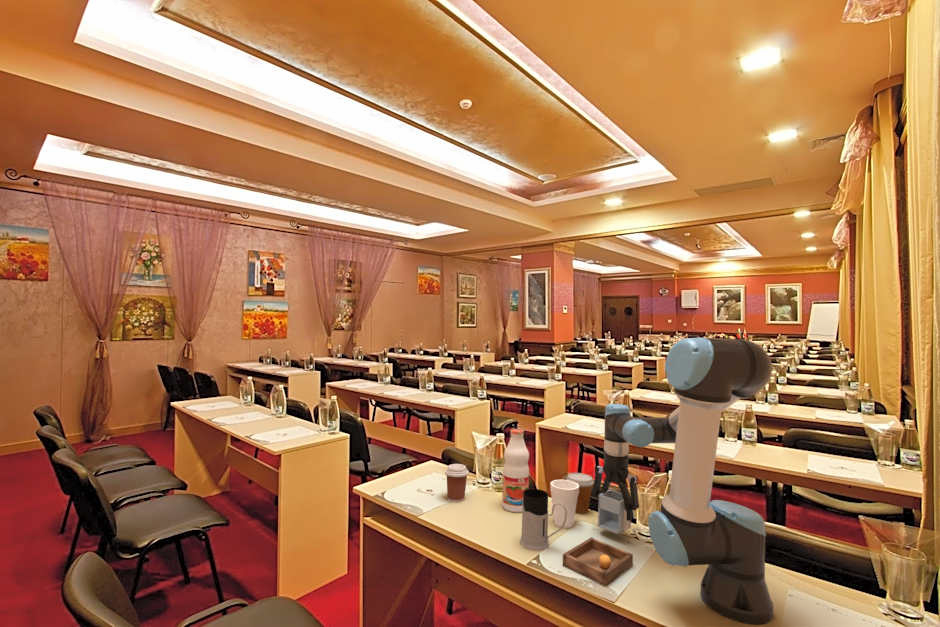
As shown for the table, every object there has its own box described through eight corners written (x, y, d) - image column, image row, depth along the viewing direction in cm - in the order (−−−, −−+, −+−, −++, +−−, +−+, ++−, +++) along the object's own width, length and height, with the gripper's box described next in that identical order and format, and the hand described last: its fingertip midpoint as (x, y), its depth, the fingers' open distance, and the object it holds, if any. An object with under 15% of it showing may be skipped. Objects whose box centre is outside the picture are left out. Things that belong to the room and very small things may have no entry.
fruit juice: (522, 501, 165) (524, 426, 166) (531, 512, 156) (534, 432, 157) (498, 503, 163) (501, 427, 164) (506, 513, 154) (509, 433, 154)
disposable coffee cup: (560, 506, 162) (561, 473, 162) (582, 503, 165) (583, 471, 165) (575, 517, 153) (576, 482, 153) (598, 514, 156) (599, 480, 156)
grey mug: (526, 533, 139) (528, 486, 140) (570, 546, 132) (571, 496, 132) (515, 545, 132) (516, 494, 132) (560, 559, 124) (562, 505, 125)
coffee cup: (443, 503, 161) (444, 470, 162) (444, 493, 170) (445, 462, 171) (468, 503, 161) (469, 470, 162) (467, 494, 170) (468, 463, 171)
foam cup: (576, 518, 152) (577, 480, 152) (580, 530, 142) (581, 490, 143) (548, 516, 153) (549, 478, 153) (550, 528, 143) (551, 488, 144)
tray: (632, 565, 122) (632, 554, 123) (605, 586, 112) (606, 574, 112) (590, 547, 132) (591, 537, 132) (562, 565, 121) (562, 554, 121)
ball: (611, 559, 118) (605, 570, 117) (614, 560, 120) (609, 571, 120) (600, 551, 120) (595, 562, 120) (604, 552, 122) (599, 562, 122)
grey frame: (609, 519, 145) (610, 489, 146) (630, 527, 140) (631, 496, 140) (597, 526, 140) (598, 494, 140) (619, 534, 135) (620, 502, 135)
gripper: (652, 458, 136) (650, 533, 135) (593, 444, 150) (591, 511, 150) (642, 463, 131) (640, 540, 130) (581, 447, 145) (580, 517, 145)
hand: (614, 525), depth 140 cm, fingers closed on grey frame, 7 cm apart
